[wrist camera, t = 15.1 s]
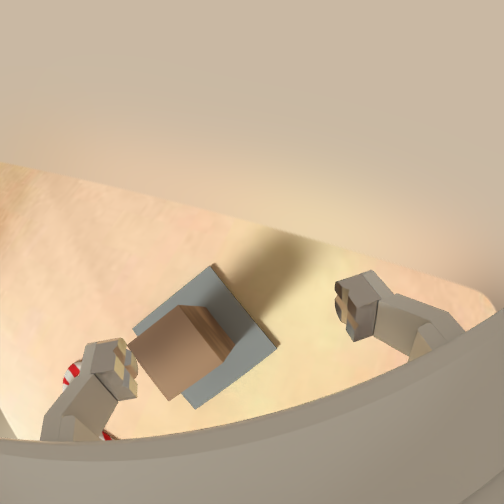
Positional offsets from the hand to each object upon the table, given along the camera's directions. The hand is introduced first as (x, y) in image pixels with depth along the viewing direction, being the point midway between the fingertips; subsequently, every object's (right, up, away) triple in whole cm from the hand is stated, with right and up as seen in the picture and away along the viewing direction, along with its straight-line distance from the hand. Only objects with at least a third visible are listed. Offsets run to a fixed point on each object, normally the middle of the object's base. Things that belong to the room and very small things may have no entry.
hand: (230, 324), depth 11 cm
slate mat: (-4, -6, +17) cm, 19 cm away
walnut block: (-4, -6, +17) cm, 18 cm away
